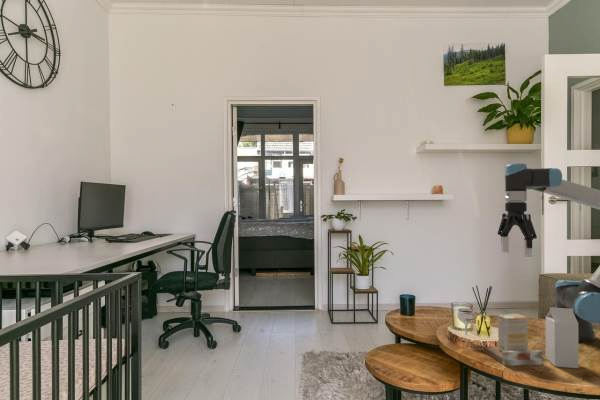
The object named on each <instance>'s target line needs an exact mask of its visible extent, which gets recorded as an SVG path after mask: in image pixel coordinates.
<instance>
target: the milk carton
mask: <svg viewBox="0 0 600 400" xmlns="http://www.w3.org/2000/svg"><path fill="white" fill-rule="evenodd" d="M545 359H546V360H547V361H548V362H549V363H550V364H552V365H553V366H554V367H556V368H557V367H558V368H571V369H579V341H578V322H577V320H576V317H575V315H574V313H573V309H566V308H556V307H549V311H548V312H547V314H546V315H545Z"/></svg>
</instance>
